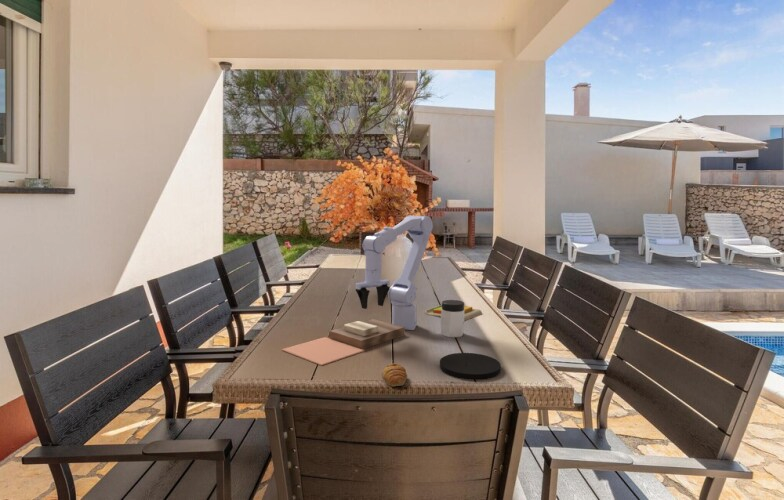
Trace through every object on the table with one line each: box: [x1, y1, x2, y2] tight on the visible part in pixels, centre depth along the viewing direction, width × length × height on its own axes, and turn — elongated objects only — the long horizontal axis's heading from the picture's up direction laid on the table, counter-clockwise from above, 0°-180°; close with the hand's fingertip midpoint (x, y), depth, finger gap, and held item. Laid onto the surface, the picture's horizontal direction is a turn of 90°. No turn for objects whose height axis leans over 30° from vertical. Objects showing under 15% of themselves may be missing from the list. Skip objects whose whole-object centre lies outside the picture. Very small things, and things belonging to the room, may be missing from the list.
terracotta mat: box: [281, 336, 365, 366], centre depth 154 cm, size 18×20×1 cm
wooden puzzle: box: [424, 304, 483, 322], centre depth 204 cm, size 18×19×4 cm
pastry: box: [381, 362, 408, 387], centre depth 130 cm, size 9×7×4 cm
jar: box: [440, 299, 465, 338], centre depth 174 cm, size 9×8×12 cm
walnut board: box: [328, 318, 406, 350], centre depth 169 cm, size 22×16×3 cm
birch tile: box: [343, 320, 378, 336], centre depth 167 cm, size 7×10×2 cm
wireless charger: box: [439, 352, 502, 381], centre depth 141 cm, size 18×18×2 cm
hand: (372, 306), depth 171 cm, fingers open, 7 cm apart
